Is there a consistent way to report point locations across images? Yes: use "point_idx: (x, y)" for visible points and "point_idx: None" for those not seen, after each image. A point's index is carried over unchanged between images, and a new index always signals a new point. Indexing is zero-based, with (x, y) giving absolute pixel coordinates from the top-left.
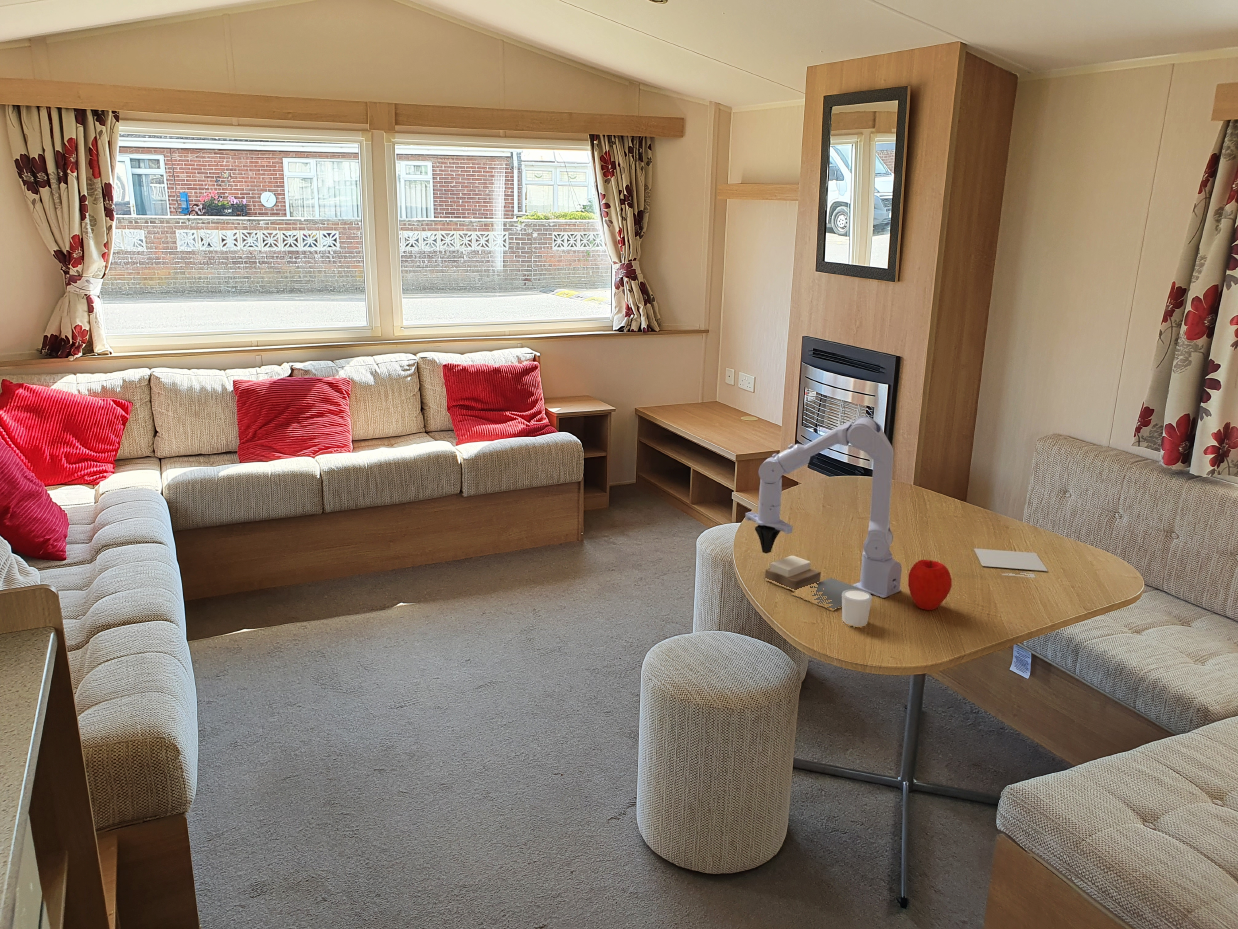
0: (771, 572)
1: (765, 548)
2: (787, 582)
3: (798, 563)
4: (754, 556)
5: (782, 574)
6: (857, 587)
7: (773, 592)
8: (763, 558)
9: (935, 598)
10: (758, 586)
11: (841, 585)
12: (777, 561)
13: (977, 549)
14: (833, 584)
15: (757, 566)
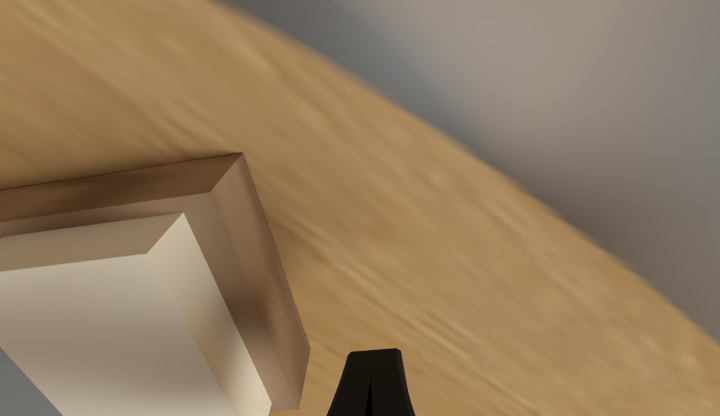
0: (143, 199)
1: (340, 397)
2: (13, 206)
3: (90, 405)
4: (607, 340)
5: (47, 233)
6: None
7: (7, 58)
8: (545, 357)
9: None
10: (150, 28)
11: (40, 403)
12: (169, 325)
13: None
14: None
15: (477, 264)
